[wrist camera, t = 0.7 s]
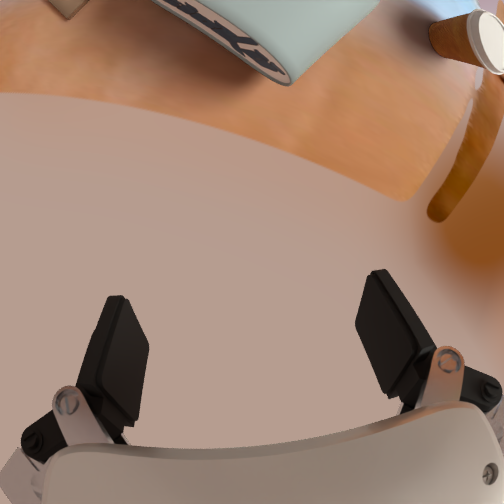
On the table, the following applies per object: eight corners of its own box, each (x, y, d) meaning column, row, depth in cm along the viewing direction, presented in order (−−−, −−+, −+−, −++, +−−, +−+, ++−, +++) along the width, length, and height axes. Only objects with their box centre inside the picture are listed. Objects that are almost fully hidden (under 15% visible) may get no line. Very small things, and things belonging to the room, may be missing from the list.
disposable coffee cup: (428, 2, 21) (481, -5, 11) (466, 39, 24) (519, 44, 14) (413, 42, 26) (470, 40, 16) (453, 78, 28) (508, 90, 18)
